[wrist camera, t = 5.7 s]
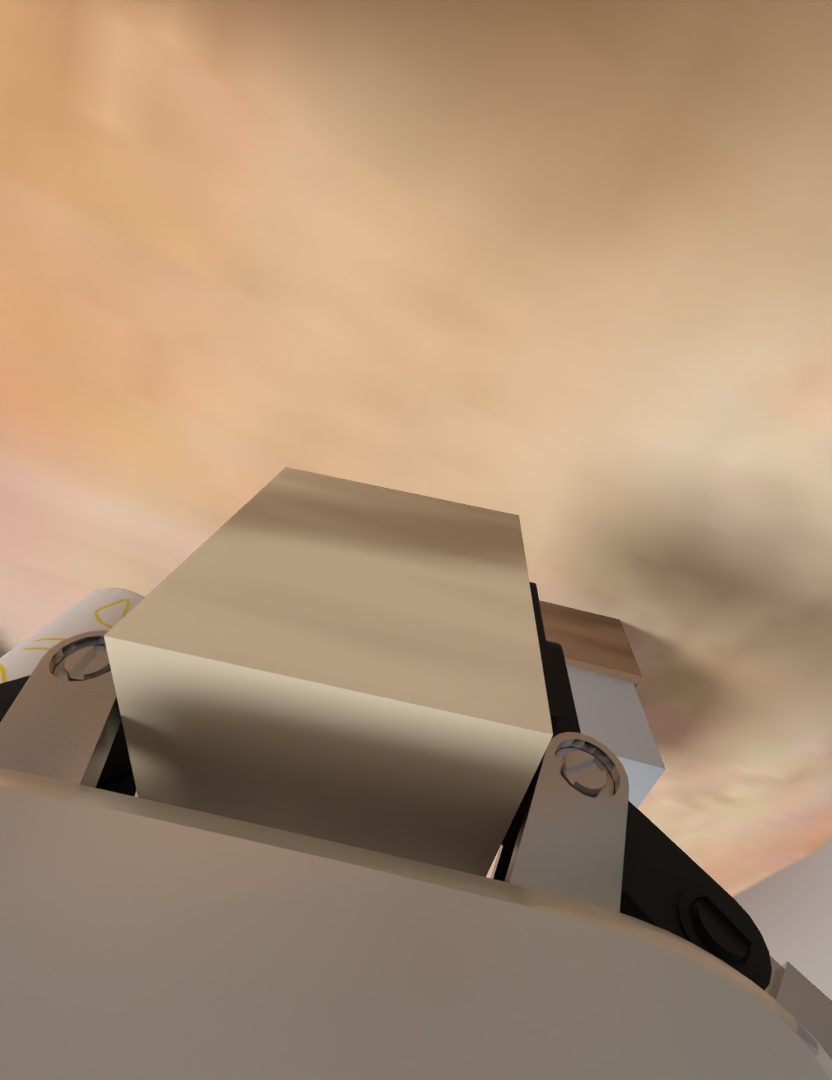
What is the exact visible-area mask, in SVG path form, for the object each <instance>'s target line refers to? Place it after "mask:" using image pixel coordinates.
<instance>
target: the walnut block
mask: <svg viewBox="0 0 832 1080" xmlns="http://www.w3.org/2000/svg"><path fill="white" fill-rule="evenodd" d="M539 603H540V609H541V615H542V620H543V626H544V631H545V637H546V641H551V642H556V643H559V644H560V645H561V646H562V649H563V653H564V658H565V662H566V665H567V666H571V667H575V668H579V669H583V670H586V671H590V672H594V673H598V674H602V675H606V676H609V677H613V678H617V679H621V680H625V681H629V682H632V683H634V686H635V688H636V686H637V684H638V682H639V681H640V679H641V677H642V675H641V673H640V670H639V668H638V665H637V663H636V660H635V658H634V655H633V653H632V650H631V648H630V645H629V643H628V640H627V638H626V635H625V633H624V630H623V628H622V625H621V623H620V620H618V619H614V618H610V617H606V616H602V615H598V614H593V613H589V612H585V611H581V610H577V609H573V608H568V607H564V606H560V605H556V604H552V603H548V602H543V601H539Z"/></svg>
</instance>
